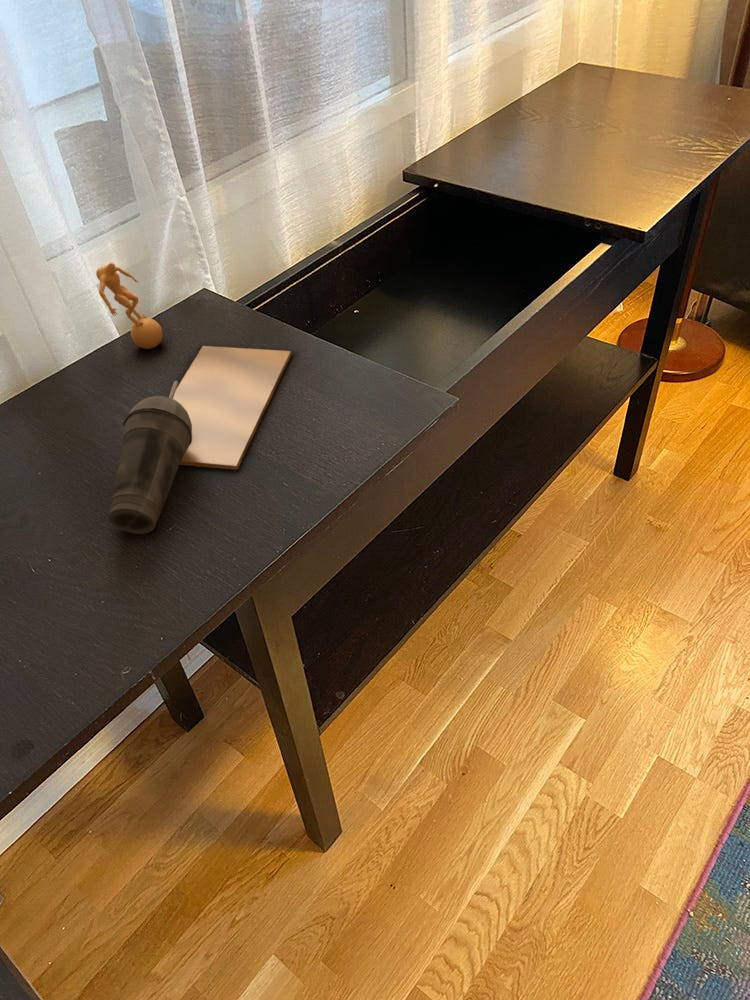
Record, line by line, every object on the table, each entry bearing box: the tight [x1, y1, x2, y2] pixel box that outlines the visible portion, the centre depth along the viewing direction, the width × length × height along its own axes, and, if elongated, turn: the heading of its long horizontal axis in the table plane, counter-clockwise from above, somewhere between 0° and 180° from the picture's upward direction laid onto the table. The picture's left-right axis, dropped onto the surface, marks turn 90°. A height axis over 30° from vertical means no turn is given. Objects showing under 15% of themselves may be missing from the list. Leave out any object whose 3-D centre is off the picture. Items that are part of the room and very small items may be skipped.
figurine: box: [95, 262, 163, 350], centre depth 100 cm, size 8×6×12 cm
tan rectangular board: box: [173, 345, 292, 471], centre depth 94 cm, size 22×12×1 cm, turn 169°
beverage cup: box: [108, 380, 192, 535], centre depth 83 cm, size 7×7×20 cm
